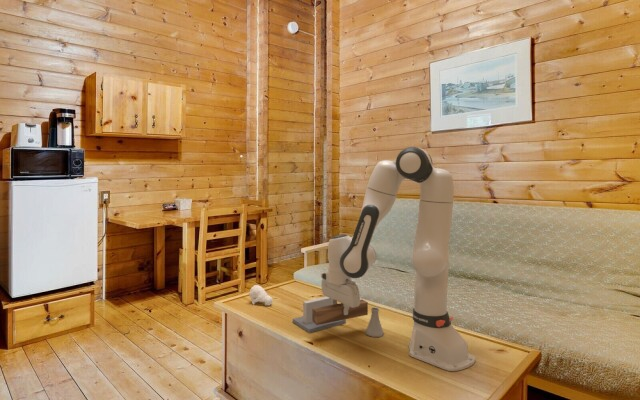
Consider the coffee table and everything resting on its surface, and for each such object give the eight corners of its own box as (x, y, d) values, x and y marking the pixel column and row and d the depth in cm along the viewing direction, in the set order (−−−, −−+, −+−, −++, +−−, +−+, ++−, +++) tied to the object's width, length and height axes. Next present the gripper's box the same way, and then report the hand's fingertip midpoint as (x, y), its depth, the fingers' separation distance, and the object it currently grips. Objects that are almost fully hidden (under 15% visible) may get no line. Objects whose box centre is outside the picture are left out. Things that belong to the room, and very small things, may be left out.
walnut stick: (367, 314, 151) (367, 302, 150) (316, 325, 142) (316, 311, 141) (362, 311, 154) (362, 299, 154) (312, 321, 145) (312, 308, 145)
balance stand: (345, 323, 160) (345, 299, 159) (309, 333, 150) (309, 308, 149) (327, 313, 171) (327, 291, 170) (292, 322, 161) (292, 299, 160)
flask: (363, 336, 147) (363, 310, 147) (367, 328, 154) (368, 304, 153) (382, 338, 145) (382, 313, 144) (385, 331, 152) (386, 306, 151)
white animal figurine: (256, 282, 188) (276, 288, 182) (255, 299, 189) (275, 305, 183) (248, 286, 182) (268, 292, 177) (247, 303, 183) (267, 310, 178)
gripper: (363, 281, 140) (364, 318, 141) (331, 270, 157) (332, 303, 158) (350, 284, 137) (351, 322, 137) (318, 273, 154) (319, 306, 154)
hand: (340, 312), depth 148 cm, fingers closed on walnut stick, 4 cm apart
